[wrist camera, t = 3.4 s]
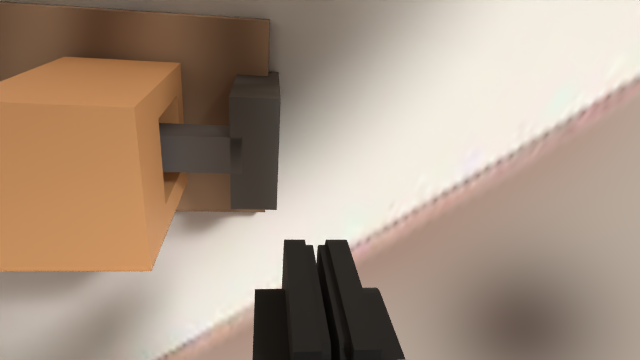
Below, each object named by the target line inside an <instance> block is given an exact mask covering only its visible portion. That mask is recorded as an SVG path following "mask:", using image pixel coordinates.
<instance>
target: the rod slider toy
mask: <svg viewBox="0 0 640 360" xmlns="http://www.w3.org/2000/svg"><path fill="white" fill-rule="evenodd" d="M62 57H81V58H99V59H118V60H137V61H155V62H174V63H180V64H181V81H182V98H183V115H184V124H173V123H159V132H160V144H161V156H162V168H163V172H182V173H187V184H186V186H185V189H184V191H183V194H182V196H181V199H180V201H179V204H178V206H177V209H176V211H220V212H265V210H277V181H278V153H279V124H280V88H279V76H278V73H277V72H268V62H269V20H268V19H253V18H239V17H224V16H209V15H194V14H179V13H164V12H149V11H134V10H119V9H104V8H89V7H74V6H59V5H44V4H29V3H14V2H0V81H3V80H5V79H8V78H11V77H13V76H16V75H18V74H21V73H23V72H26V71H29V70H31V69H34V68H36V67H39V66H41V65H44V64H47V63H49V62H52V61H54V60H57V59H59V58H62Z"/></svg>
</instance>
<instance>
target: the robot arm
mask: <svg viewBox="0 0 640 360" xmlns="http://www.w3.org/2000/svg"><path fill="white" fill-rule="evenodd" d="M253 360H405V357H404V354H403V352H402V349H401V347H400V344H399V341H398V339H397V336H396V333H395V331H394V328H393V325H392V323H391V320H390V317H389V315H388V312H387V309H386V307H385V304H384V301H383V299H382V296H381V294H380V291H379V290H378V288H362V285H361V282H360V280H359V276H358V273H357V270H356V267H355V264H354V261H353V257H352V254H351V251H350V248H349V245H348V242H347V240H326V242H325V245H318V250H317V263H316V260H315V255H314V249H313V245H306V244H305V240H284V254H283V277H282V289H255V308H254V336H253Z"/></svg>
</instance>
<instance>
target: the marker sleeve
mask: <svg viewBox="0 0 640 360" xmlns="http://www.w3.org/2000/svg"><path fill="white" fill-rule="evenodd" d="M159 123H173V124H184V115H183V98H182V81H181V64H180V63H174V62H155V61H137V60H118V59H99V58H81V57H62V58H59V59H57V60H54V61H52V62H49V63H47V64H44V65H41V66H39V67H36V68H34V69H31V70H29V71H26V72H23V73H21V74H18V75H16V76H13V77H11V78H8V79H5V80H3V81H0V272H18V271H151V270H152V268H153V265H154V263H155V261H156V258H157V256H158V253H159V251H160V248H161V246H162V243H163V241H164V238H165V236H166V233H167V231H168V228H169V226H170V223H171V221H172V218H173V216H174V213H175V211H176V209H177V206H178V204H179V201H180V199H181V196H182V194H183V191H184V189H185V186H186V184H187V173H182V172H163V168H162V156H161V144H160V132H159Z"/></svg>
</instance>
